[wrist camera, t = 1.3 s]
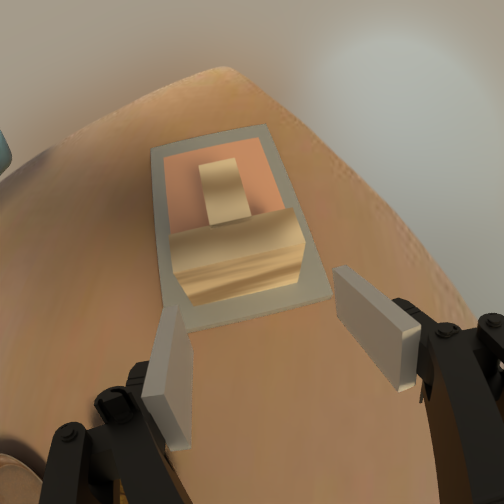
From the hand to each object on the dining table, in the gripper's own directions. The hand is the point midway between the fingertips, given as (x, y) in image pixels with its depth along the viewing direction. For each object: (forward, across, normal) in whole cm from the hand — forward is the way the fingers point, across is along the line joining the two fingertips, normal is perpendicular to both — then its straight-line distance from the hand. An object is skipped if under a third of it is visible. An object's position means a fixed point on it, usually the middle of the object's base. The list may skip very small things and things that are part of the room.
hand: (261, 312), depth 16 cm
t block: (+24, 0, -3) cm, 24 cm away
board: (+29, 0, 0) cm, 29 cm away
